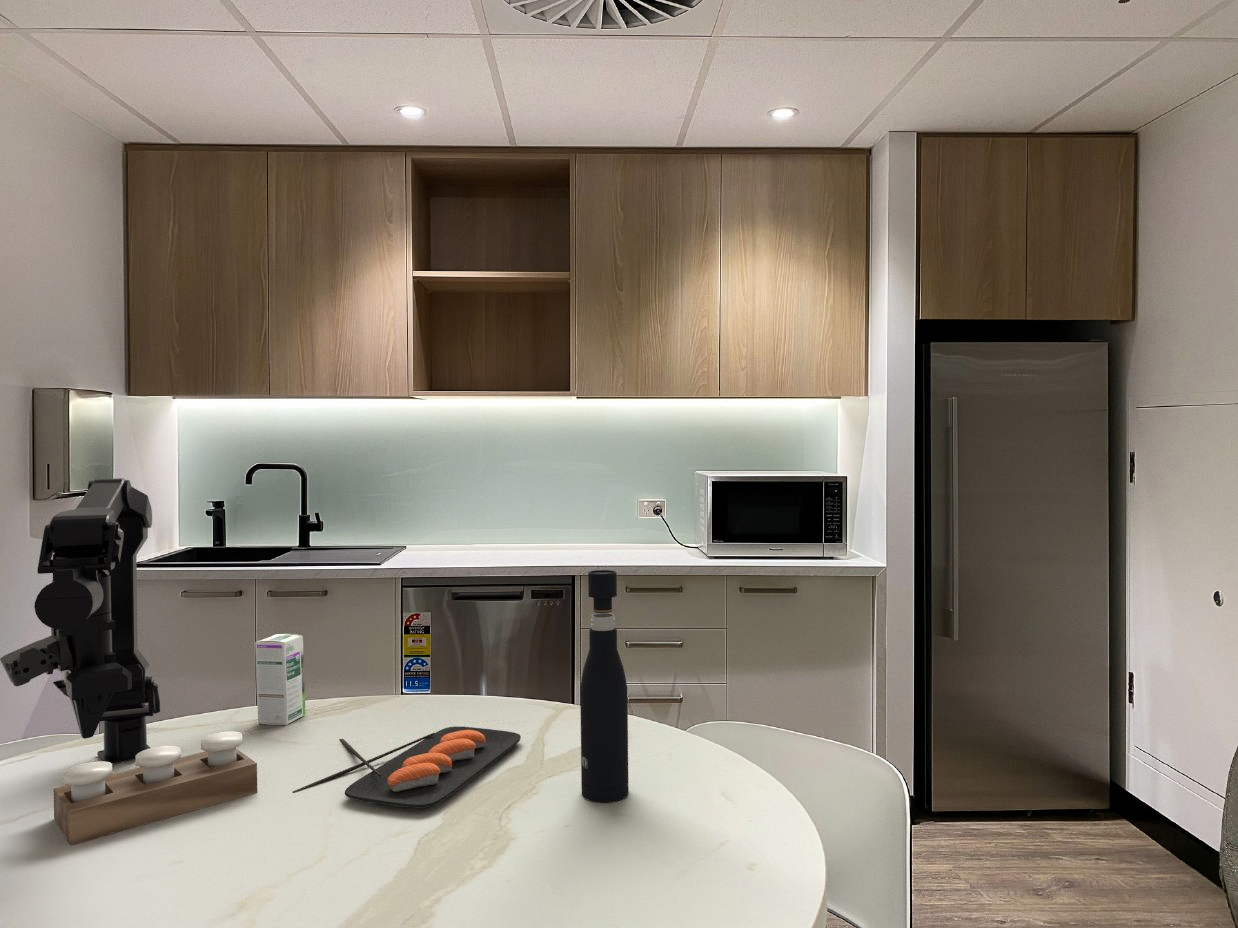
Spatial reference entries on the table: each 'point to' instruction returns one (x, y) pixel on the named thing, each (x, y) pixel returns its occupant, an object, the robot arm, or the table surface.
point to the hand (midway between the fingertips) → (87, 737)
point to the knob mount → (153, 796)
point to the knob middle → (158, 763)
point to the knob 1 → (87, 780)
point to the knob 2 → (221, 747)
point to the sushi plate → (427, 767)
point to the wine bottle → (603, 701)
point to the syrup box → (280, 679)
